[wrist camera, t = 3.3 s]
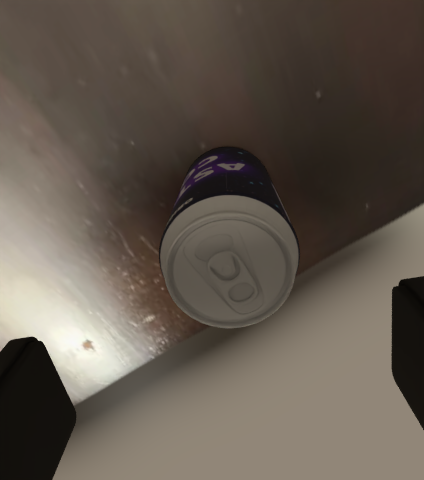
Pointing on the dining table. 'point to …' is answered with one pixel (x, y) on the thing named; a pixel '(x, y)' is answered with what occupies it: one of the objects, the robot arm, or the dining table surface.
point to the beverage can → (229, 242)
